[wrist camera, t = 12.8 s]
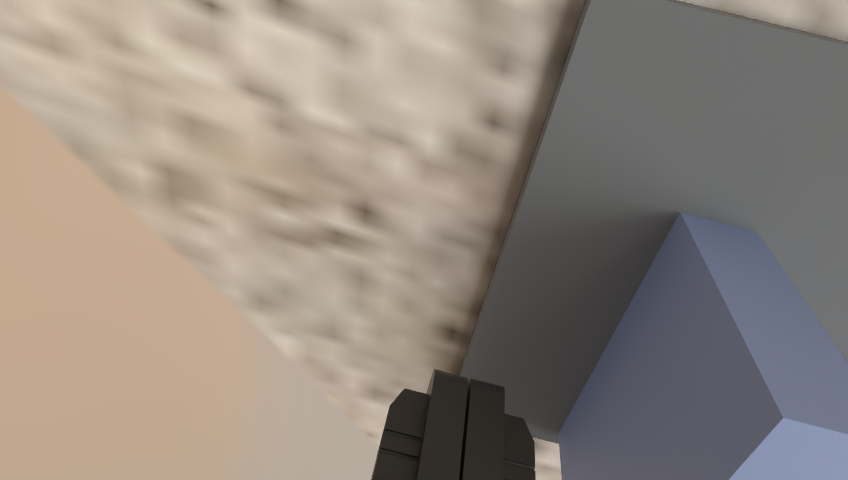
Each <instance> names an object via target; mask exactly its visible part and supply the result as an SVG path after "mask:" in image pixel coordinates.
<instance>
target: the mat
mask: <svg viewBox="0 0 848 480" xmlns="http://www.w3.org/2000/svg"><path fill="white" fill-rule="evenodd" d="M680 212H682V213H686V214H690V215H693V216H697V217H701V218H705V219H709V220H713V221H717V222H721V223H725V224H728V225H732V226H736V227H740V228H744V229H748V230H752V231H756V232H757V233H758V234H759V235H760V237H761V238H762V240H763V241H764V243H765V244H766V246H767V247H768V248H769V250H770V251H771V253H772V254H773V256H774V257H775V259H776V260H777V261H778V263H779V264H780V266H781V267H782V269H783V270H784V272H785V273H786V274H787V276H788V277H789V279H790V280H791V282H792V283H793V285H794V286H795V287H796V289H797V290H798V292H799V293H800V295H801V296H802V298H803V299H804V300H805V302H806V303H807V305H808V306H809V308H810V309H811V311H812V312H813V313H814V315H815V316H816V318H817V319H818V321H819V322H820V324H821V325H822V326H823V328H824V329H825V331H826V332H827V334H828V335H829V336H830V338H831V339H832V341H833V342H834V344H835V345H836V347H837V348H838V349H839V351H840V352H841V354H842V355H843V357H844V358H845V360H846V361H847V362H848V42H844V41H840V40H836V39H832V38H828V37H824V36H820V35H816V34H812V33H808V32H803V31H799V30H795V29H791V28H787V27H783V26H779V25H775V24H771V23H767V22H762V21H758V20H754V19H750V18H746V17H742V16H738V15H734V14H730V13H726V12H721V11H717V10H713V9H709V8H705V7H701V6H697V5H693V4H689V3H685V2H680V1H676V0H586V2H585V5H584V8H583V11H582V14H581V17H580V20H579V23H578V26H577V29H576V31H575V34H574V37H573V40H572V43H571V46H570V49H569V52H568V55H567V58H566V61H565V64H564V67H563V70H562V73H561V76H560V78H559V81H558V84H557V87H556V90H555V93H554V96H553V99H552V102H551V105H550V108H549V111H548V114H547V117H546V120H545V123H544V126H543V128H542V131H541V134H540V137H539V140H538V143H537V146H536V149H535V152H534V155H533V158H532V161H531V164H530V167H529V170H528V173H527V176H526V178H525V181H524V184H523V187H522V190H521V193H520V196H519V199H518V202H517V205H516V208H515V211H514V214H513V217H512V220H511V223H510V225H509V228H508V231H507V234H506V237H505V240H504V243H503V246H502V249H501V252H500V255H499V258H498V261H497V264H496V267H495V270H494V273H493V275H492V278H491V281H490V284H489V287H488V290H487V293H486V296H485V299H484V302H483V305H482V308H481V311H480V314H479V317H478V320H477V322H476V325H475V328H474V331H473V334H472V337H471V340H470V343H469V346H468V349H467V352H466V355H465V358H464V361H463V364H462V367H461V370H460V372H459V376H463V377H467V378H468V380H469V379H470V378H472V379H476V380H480V381H484V382H488V383H492V384H496V385H499V386H503V387H504V389H505V414H508V415H512V416H516V417H520V418H524V420H525V422H526V425H527V427H528V429H529V431H530V434H531V436H532V437H534V438H539V439H543V440H547V441H551V442H555V443H559V435H558V434H559V432H560V430H561V428H562V426H563V425H564V423H565V421H566V419H567V417H568V415H569V414H570V412H571V410H572V408H573V406H574V405H575V403H576V401H577V399H578V397H579V395H580V394H581V392H582V390H583V388H584V386H585V384H586V383H587V381H588V379H589V377H590V375H591V374H592V372H593V370H594V368H595V366H596V364H597V363H598V361H599V359H600V357H601V355H602V354H603V352H604V350H605V348H606V346H607V344H608V343H609V341H610V339H611V337H612V335H613V333H614V332H615V330H616V328H617V326H618V324H619V323H620V321H621V319H622V317H623V315H624V313H625V312H626V310H627V308H628V306H629V304H630V302H631V301H632V299H633V297H634V295H635V293H636V292H637V290H638V288H639V286H640V284H641V282H642V281H643V279H644V277H645V275H646V273H647V272H648V270H649V268H650V266H651V264H652V262H653V261H654V259H655V257H656V255H657V253H658V251H659V250H660V248H661V246H662V244H663V242H664V241H665V239H666V237H667V235H668V233H669V231H670V230H671V228H672V226H673V224H674V222H675V220H676V219H677V217H678V215H679V213H680Z"/></svg>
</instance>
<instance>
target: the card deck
mask: <svg viewBox="0 0 848 480" xmlns="http://www.w3.org/2000/svg"><path fill="white" fill-rule="evenodd" d="M558 435H559V447H560V460H561V473H562V480H848V362H847V361H846V360H845V358H844V357H843V355H842V354H841V352H840V351H839V349H838V348H837V347H836V345H835V344H834V342H833V341H832V339H831V338H830V336H829V335H828V334H827V332H826V331H825V329H824V328H823V326H822V325H821V324H820V322H819V321H818V319H817V318H816V316H815V315H814V313H813V312H812V311H811V309H810V308H809V306H808V305H807V303H806V302H805V300H804V299H803V298H802V296H801V295H800V293H799V292H798V290H797V289H796V287H795V286H794V285H793V283H792V282H791V280H790V279H789V277H788V276H787V274H786V273H785V272H784V270H783V269H782V267H781V266H780V264H779V263H778V261H777V260H776V259H775V257H774V256H773V254H772V253H771V251H770V250H769V248H768V247H767V246H766V244H765V243H764V241H763V240H762V238H761V237H760V235H759V234H758V233H757V232H756V231H752V230H748V229H744V228H740V227H736V226H732V225H728V224H725V223H721V222H717V221H713V220H709V219H705V218H701V217H697V216H693V215H690V214H686V213H682V212H680V213H679V215H678V217H677V219H676V220H675V222H674V224H673V226H672V228H671V230H670V231H669V233H668V235H667V237H666V239H665V241H664V242H663V244H662V246H661V248H660V250H659V251H658V253H657V255H656V257H655V259H654V261H653V262H652V264H651V266H650V268H649V270H648V272H647V273H646V275H645V277H644V279H643V281H642V282H641V284H640V286H639V288H638V290H637V292H636V293H635V295H634V297H633V299H632V301H631V302H630V304H629V306H628V308H627V310H626V312H625V313H624V315H623V317H622V319H621V321H620V323H619V324H618V326H617V328H616V330H615V332H614V333H613V335H612V337H611V339H610V341H609V343H608V344H607V346H606V348H605V350H604V352H603V354H602V355H601V357H600V359H599V361H598V363H597V364H596V366H595V368H594V370H593V372H592V374H591V375H590V377H589V379H588V381H587V383H586V384H585V386H584V388H583V390H582V392H581V394H580V395H579V397H578V399H577V401H576V403H575V405H574V406H573V408H572V410H571V412H570V414H569V415H568V417H567V419H566V421H565V423H564V425H563V426H562V428H561V430H560V432H559V434H558Z"/></svg>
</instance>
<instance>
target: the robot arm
mask: <svg viewBox="0 0 848 480" xmlns="http://www.w3.org/2000/svg"><path fill="white" fill-rule="evenodd" d="M534 468H535V450H534V440H533V438H532V436H531V434H530V431H529V429H528V427H527V425H526V422H525V420H524V418H520V417H516V416H512V415H508V414H505V389H504V387H503V386H499V385H496V384H492V383H488V382H484V381H480V380H476V379H472V378H470V379H469V380H468V378H467V377H463V376H459V375H455V374H451V373H447V372H443V371H439V370H436V369H434V371H433V374H432V377H431V380H430V384H429V387H428V390H427V393H426V394H425V393H421V392H417V391H413V390H409V389H404V390H403V391H402V392H401V393H400V394H399V396H398V397H397V398H396V399H395V400H394V402H393V403H392V404H391V405H390V408H389V411H388V415H387V419H386V423H385V427H384V431H383V434H382V438H381V442H380V446H379V450H378V454H377V458H376V463H375V467H374V470H373V475H372V479H371V480H535V471H534Z"/></svg>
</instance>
